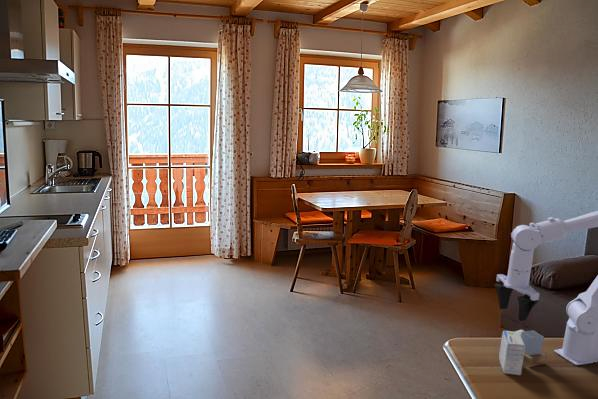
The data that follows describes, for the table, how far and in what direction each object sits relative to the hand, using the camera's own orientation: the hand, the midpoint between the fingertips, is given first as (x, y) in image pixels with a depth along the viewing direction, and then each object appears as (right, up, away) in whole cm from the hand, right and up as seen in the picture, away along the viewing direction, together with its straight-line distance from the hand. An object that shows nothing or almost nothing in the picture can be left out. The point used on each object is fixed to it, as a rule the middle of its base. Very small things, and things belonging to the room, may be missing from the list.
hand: (512, 314), depth 149 cm
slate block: (+3, -9, -4) cm, 11 cm away
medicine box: (-4, -13, -8) cm, 16 cm away
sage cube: (+4, -10, +4) cm, 12 cm away
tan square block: (+3, -12, -4) cm, 13 cm away
